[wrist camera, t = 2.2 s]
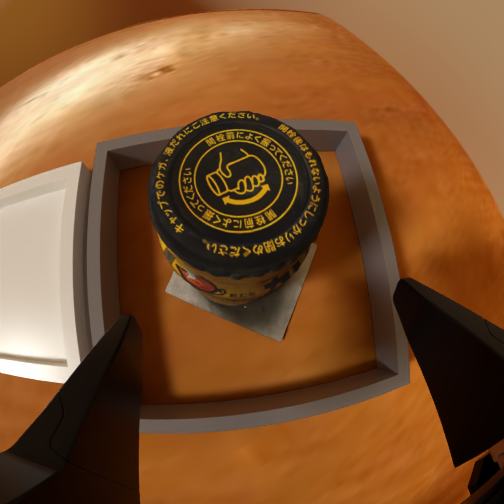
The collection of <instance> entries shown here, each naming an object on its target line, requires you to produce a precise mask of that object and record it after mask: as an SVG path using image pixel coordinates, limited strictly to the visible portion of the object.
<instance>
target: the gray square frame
mask: <svg viewBox="0 0 504 504" xmlns="http://www.w3.org/2000/svg"><path fill="white" fill-rule="evenodd" d="M277 120H279V121H281V122H283V123H285V124H286V125H288V126H291V127H292V128H294V129H295V130H296V131H297V132H298V133H299V134H300V135H301V136H302V137H303V138H304V139H305V140H306V141H307V142H308V143H309V144H310V145H311V146H312V147H313V148H314V149H315V150H316V151H335V152H336V155H337V159H338V162H339V165H340V168H341V172H342V175H343V179H344V182H345V186H346V189H347V193H348V197H349V201H350V205H351V209H352V213H353V217H354V221H355V225H356V230H357V234H358V239H359V243H360V248H361V253H362V258H363V263H364V269H365V274H366V280H367V286H368V292H369V299H370V306H371V313H372V321H373V329H374V338H375V348H376V360H377V368H376V369H373V370H370V371H367V372H364V373H361V374H357V375H354V376H350V377H347V378H343V379H340V380H336V381H332V382H328V383H324V384H320V385H316V386H312V387H307V388H303V389H298V390H293V391H288V392H283V393H278V394H272V395H266V396H260V397H253V398H246V399H238V400H229V401H220V402H208V403H194V404H171V405H141V407H140V425H139V433H202V432H217V431H228V430H237V429H245V428H253V427H259V426H266V425H272V424H277V423H282V422H288V421H292V420H297V419H302V418H306V417H310V416H314V415H318V414H322V413H326V412H330V411H333V410H337V409H340V408H344V407H347V406H350V405H353V404H356V403H359V402H362V401H365V400H368V399H371V398H374V397H377V396H379V395H382V394H385V393H387V392H390V391H392V390H395V389H397V388H400V387H402V386H404V385H407V384H409V383H410V368H409V350H408V339H407V337H406V335H405V332H404V329H403V327H402V324H401V321H400V319H399V316H398V313H397V311H396V308H395V306H394V303H393V294H394V292H395V289H396V286H397V283H398V281H399V280H400V277H399V271H398V266H397V261H396V256H395V251H394V246H393V242H392V237H391V233H390V229H389V225H388V221H387V217H386V213H385V210H384V206H383V202H382V199H381V195H380V192H379V189H378V185H377V182H376V179H375V176H374V173H373V170H372V167H371V164H370V161H369V158H368V155H367V153H366V150H365V147H364V144H363V142H362V139H361V137H360V134H359V131H358V129H357V126H356V124H355V122H344V121H328V120H299V119H277ZM183 127H185V126H182V127H175V128H168V129H162V130H156V131H150V132H145V133H140V134H135V135H130V136H125V137H121V138H116V139H112V140H108V141H104V142H100V143H97V148H96V154H95V160H94V167H93V174H92V182H91V191H90V201H89V213H88V230H87V288H88V305H89V317H90V327H91V336H92V343H93V347H94V346H95V345H96V343H97V342H98V341H99V340H100V339H101V337H102V336H103V335H104V334H105V333H106V332H107V330H108V329H109V328H110V327H111V326H112V325H113V323H114V322H115V321H116V320H117V319H118V318H119V317H120V316H121V311H120V300H119V285H118V263H117V215H118V193H119V179H120V170H124V169H129V168H135V167H140V166H146V165H152V164H153V163H154V162H155V159H156V157H157V156H158V155H159V153H160V152H161V151H162V150H163V149H164V147H165V146H166V145H167V143H168V142H169V140H170V139H171V138H172V137H173V136H174V135H175V134H176V133H177V132H178V131H179V130H181V129H182V128H183Z"/></svg>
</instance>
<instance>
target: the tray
mask: <svg viewBox="0 0 504 504" xmlns="http://www.w3.org/2000/svg"><path fill="white" fill-rule="evenodd" d="M91 182H92V173H91V172H90V170H89V169H88V168H87V167H86V166H85V165H84V163H83V162H82V161H81V162H77V163H74V164H70V165H67V166H63V167H60V168H57V169H54V170H50V171H47V172H44V173H41V174H38V175H35V176H32V177H30V178H27V179H24V180H21V181H19V182H16V183H13V184H11V185H8V186H6V187H3V188H1V189H0V372H1V373H6V374H10V375H15V376H20V377H25V378H31V379H37V380H43V381H50V382H58V383H65V382H66V381H67V379H68V378H69V377H70V376H71V374H72V373H73V372H74V370H75V369H76V368H77V367H78V365H79V364H80V363H81V362H82V360H83V359H84V358H85V357H86V356H87V354H88V353H89V352H90V351H91V349H92V348H93V343H92V336H91V327H90V317H89V305H88V288H87V230H88V213H89V201H90V191H91Z"/></svg>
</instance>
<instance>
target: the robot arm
mask: <svg viewBox="0 0 504 504" xmlns="http://www.w3.org/2000/svg"><path fill="white" fill-rule="evenodd" d="M393 303H394V306H395V308H396V311H397V313H398V316H399V319H400V321H401V324H402V327H403V329H404V332H405V335H406V337H407V339H408V342H409V344H410V346H411V348H412V350H413V353H414V355H415V357H416V359H417V362H418V364H419V366H420V369H421V371H422V373H423V376H424V378H425V381H426V383H427V386H428V388H429V391H430V393H431V396H432V398H433V401H434V404H435V406H436V409H437V412H438V415H439V418H440V421H441V424H442V427H443V430H444V433H445V436H446V439H447V443H448V446H449V450H450V453H451V457H452V460H453V464H454V466H455V468H456V467H458V466H460V465H462V464H463V463H465V462H467V461H469V460H471V459H473V458H474V457H476V456H478V455H480V454H481V453H483V452H485V451H486V450H489V451H487V452H486V453H485V454H484V455H483V456H482V457H481V458H479V459H478V460H477V461H476V462H475V465H474V468H473V472H472V475H471V478H470V481H469V484H468V489H469V492H470V495H471V496H470V497H468V498H467V499H466V500H465V501H463V502H462V503H461V504H504V330H503V329H501V328H499V327H498V326H496V325H494V324H493V323H491V322H489V321H487V320H486V319H483V318H482V317H481V316H479V315H477V314H475V313H474V312H472V311H470V310H469V309H467V308H465V307H463V306H461V305H460V304H458V303H456V302H454V301H453V300H451V299H449V298H447V297H445V296H444V295H442V294H440V293H438V292H436V291H434V290H433V289H431V288H429V287H427V286H425V285H423V284H421V283H419V282H417V281H416V280H414V279H412V278H409V277H407V278H402V279H400V280H399V281H398V283H397V286H396V289H395V292H394V294H393ZM141 393H142V333H141V330H140V328H139V326H138V324H137V321H136V319H135V317H134V316H133V315H131V314H129V315H121V316H120V317H119V318H118V319H117V320H116V321H115V322H114V323H113V325H112V326H111V327H110V328H109V329H108V330H107V332H106V333H105V334H104V335H103V336H102V337H101V339H100V340H99V341H98V342H97V343H96V345H95V346H94V347H93V348H92V349H91V351H90V352H89V353H88V354H87V356H86V357H85V358H84V359H83V360H82V362H81V363H80V364H79V365H78V367H77V368H76V369H75V370H74V372H73V373H72V374H71V376H70V377H69V378H68V379H67V381H66V382H65V383H64V385H63V386H62V387H61V388H60V390H59V392H57V394H56V395H55V396H54V398H53V399H52V400H51V401H50V403H49V404H48V405H47V407H46V408H45V409H44V410H43V412H42V413H41V414H40V415H39V416H38V418H37V419H36V420H35V421H34V422H33V423H32V424H31V426H30V427H29V428H28V429H27V430H26V431H25V432H24V434H23V435H22V436H21V437H20V438H19V439H18V441H17V442H16V443H15V444H14V445H13V446H12V447H11V448H9V449H8V450H6V451H4V452H1V453H0V504H140V492H139V425H140V407H141Z"/></svg>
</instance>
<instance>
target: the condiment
mask: <svg viewBox="0 0 504 504" xmlns="http://www.w3.org/2000/svg"><path fill="white" fill-rule="evenodd" d="M328 202H329V181H328V177H327V175H326V172H325V170H324V166H323V164H322V161H321V159H320V157H319V155H318V153H317V152H316V150H315V149H314V148H313V147H312V146H311V145H310V144H309V143H308V142H307V141H306V140H305V139H304V138H303V137H302V136H301V135H300V134H299V133H298V132H297V131H296V130H295V129H294V128H292V127H291V126H288V125H286V124H285V123H283V122H281V121H279V120H277V119H275V118H272V117H269V116H265V115H261V114H258V113H252V112H250V111H240V112H217V113H212V114H210V115H208V116H205V117H202V118H200V119H198V120H196V121H194V122H192V123H190V124H188V125H187V126H185V127H183V128H182V129H181V130H179V131H178V132H177V133H176V134H175V135H174V136H173V137H172V138H171V139H170V140H169V142H168V143H167V145H166V146H165V147H164V149H163V150H162V151H161V152H160V153H159V155H158V156H157V157H156V159H155V162H154V163H153V166H152V169H151V173H150V181H149V184H148V208H149V212H150V218H151V220H152V222H153V225H154V227H155V229H156V231H157V232H158V238H159V241H160V245H161V248H162V250H163V252H164V254H165V256H166V259H167V260H168V261H169V263H170V264H171V266H172V267H173V269H174V272H173V275H172V277H171V279H170V281H169V283H168V285H167V288H166V290H165V292H167V293H169V294H171V295H173V296H175V297H178V298H180V299H182V300H184V301H186V302H188V303H190V304H192V305H195V306H197V307H199V308H201V309H203V310H206V311H208V312H210V313H212V314H215V315H217V316H219V317H221V318H223V319H226V320H228V321H231V322H233V323H236V324H238V325H240V326H242V327H245V328H247V329H250V330H252V331H254V332H257V333H260V334H262V335H265V336H267V337H270V338H272V339H275V340H277V341H280V342H281V340H282V338H283V335H284V333H285V330H286V327H287V325H288V322H289V320H290V317H291V315H292V312H293V310H294V307H295V304H296V302H297V299H298V297H299V294H300V292H301V289H302V286H303V283H304V281H305V278H306V276H307V273H308V271H309V268H310V265H311V262H312V259H313V257H314V254H315V251H316V249H317V246H318V245H316V244H314V243H313V242H314V241H315V240H316V239H317V237H318V233H319V231H320V228H321V227H322V225H323V222H324V219H325V216H326V212H327V208H328ZM244 306H246V307H247V308H244Z"/></svg>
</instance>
